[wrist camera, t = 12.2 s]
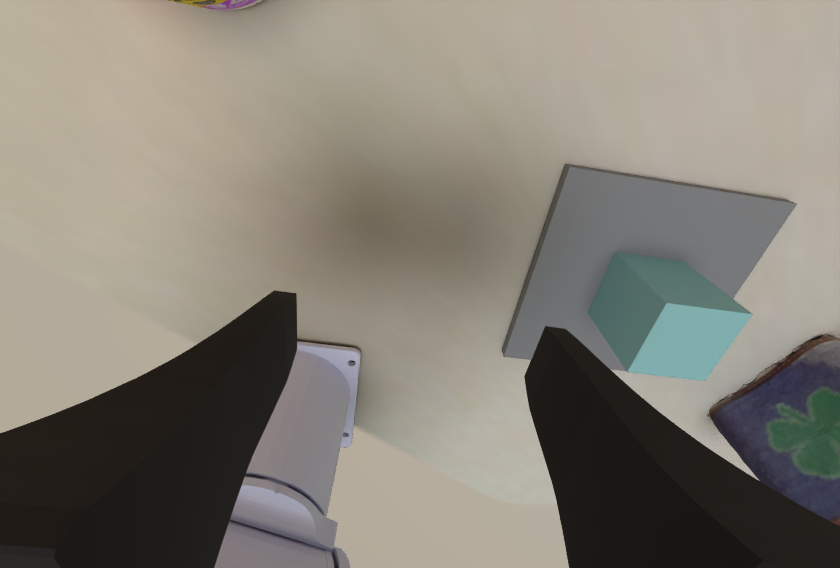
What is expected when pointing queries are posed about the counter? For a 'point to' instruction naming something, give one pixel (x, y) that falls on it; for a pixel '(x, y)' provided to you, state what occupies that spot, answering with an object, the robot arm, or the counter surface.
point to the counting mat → (633, 246)
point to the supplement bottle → (220, 3)
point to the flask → (791, 426)
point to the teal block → (665, 317)
